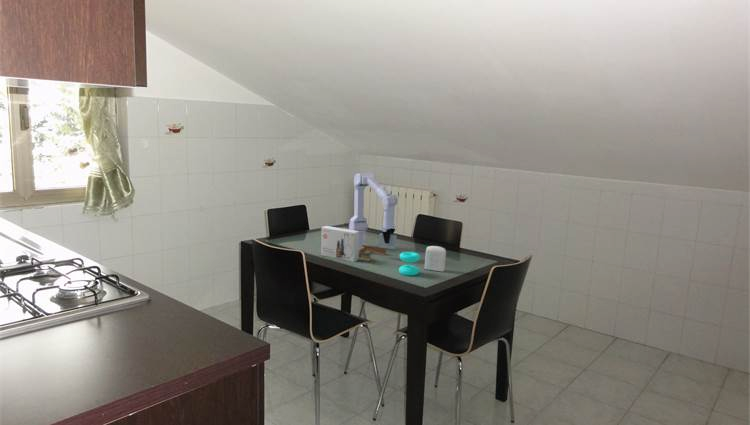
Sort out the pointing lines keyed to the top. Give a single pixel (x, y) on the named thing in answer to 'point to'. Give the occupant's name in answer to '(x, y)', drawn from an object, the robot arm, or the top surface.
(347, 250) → the skincare box
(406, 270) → the donuts
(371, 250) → the brown wooden l-shape
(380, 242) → the light blue block
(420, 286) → the top surface
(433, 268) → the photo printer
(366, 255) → the offcut stack
